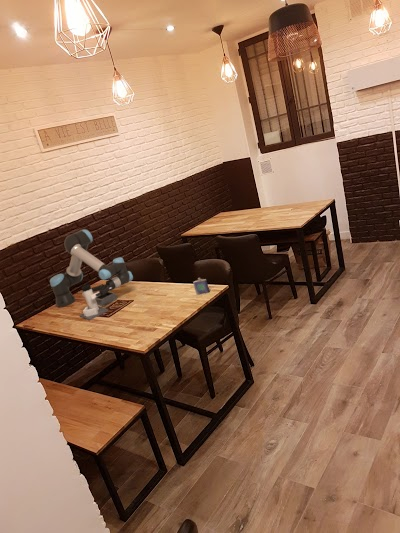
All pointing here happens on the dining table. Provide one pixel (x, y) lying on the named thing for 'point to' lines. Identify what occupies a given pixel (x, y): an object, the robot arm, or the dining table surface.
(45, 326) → the dining table surface
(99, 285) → the robot arm
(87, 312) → the V-cradle
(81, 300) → the dining table surface
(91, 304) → the travel mug
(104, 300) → the sleeve
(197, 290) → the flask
